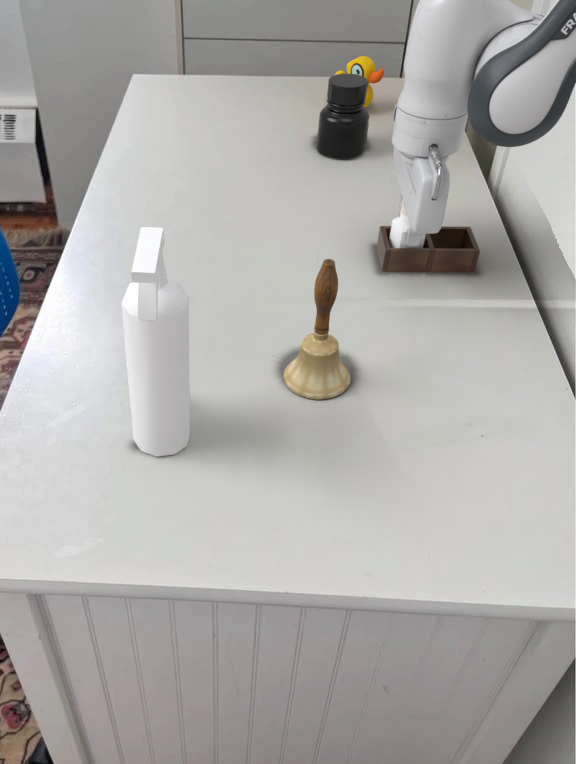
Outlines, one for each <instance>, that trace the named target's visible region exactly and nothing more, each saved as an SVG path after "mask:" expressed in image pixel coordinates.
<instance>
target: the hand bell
mask: <svg viewBox="0 0 576 764" xmlns="http://www.w3.org/2000/svg"><path fill="white" fill-rule="evenodd" d="M338 291H339V278H338V273H337V269H336V262H335V260H334V259H332V258H326V259H323V261H322V264H321V266H320V268H319V271H318V273H317V275H316V277H315V281H314V289H313V295H314V302H315V303H314V304H315V308H316V315H315V323H314V326H313V327H314V329H313V330H314V331H313V332H312V333H309V334H307V335H306V336H304V338H303V339H302V340H301V343H300V348H299V351H298V354H297V356H296V358H295V359H293V360H292V361H291V362H289V363H288V364H287V366H286V367H285V369H284V371H283V375H282V378H283V382H284V385H285V386H286V387H287V388H288V389H289V390H290V391H291V392H293V394H295V395H298V396H300V397H302V398H306V399H310V400H327V399H332V398H335V397H337V396H340V395H342V394H343V393H344V392H346V391H347V389H348V388H349V387H350V384H351V372H350V371H349V369H348V367H347V366H346V365H345V364H344V363H343V362H341V358H340V345H339V344H340V343H339V341H338V339H337V338H336V337H335V336H333V335H332V334H330V333H329V331H330V317H331V312H332V309H333V306H334V304H335V302H336V300H337V296H338Z"/></svg>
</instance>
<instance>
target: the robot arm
mask: <svg viewBox="0 0 576 764" xmlns="http://www.w3.org/2000/svg"><path fill="white" fill-rule="evenodd" d="M403 72H404V73H403V75H404V81H403V85H402V89H401V92H400V94H399V96H398V99H397V103H395V105H394V110H393V128H392V133H391V134H392V135H391V144H392V146H393V157H392V158H393V160H392V161H393V170H394V174H395V177H396V180H397V183H398V187H399V191H400V192H399V196H400V197H399V209H398V217H400V214H401V213H400V210H401V205H402V200H403V201H404V205H405V208H406V211H407V215H408V218H409V222H410V227H409V229H407V233H406V242H407V245H408V246H418V245H419V244H420V241H421V237H422V234H434V233H438V232H439V231H440V229H441V227H442V226H443V224H444V220H445V219H444V218H445V214H446V209H447V203H448V199H449V198H448V197H449V193H450V183H451V175H450V171H449V169H448V165H447V164H446V162H447V161H448V160H449V156H451V155H454V154H456V153H457V152H459V151H460V149H461V147H462V143H463V139H464V134H465V131H466V126H467V122H468V120H469V123H470V125H471V127H472V128H473V130H474V132H475V133H476V134H477V135H478V136H479V137H480V138H481V139H482V140H483V141H485V142H487V143H489V144H491V145H494V146H497V147H502V148H517V147H523V146H526V145H529V144H531V143H533V142H536V141H537V140H540V139H542V138H543V137H544V136H545V135H546V134H548V133H549V132H550V131H551V130H552V129H553V128H554V127H555V126H556V125H557V124H558V122H559V121H560V119H561V118H562V116H563V114H564V112H565V111H566V108H567V106H568V104H569V101H570V99H571V96H572V93H573V90H574V88H575V87H576V0H556V1H555V2H554V4H553V5H552V6H551V7H550V8H549V10H548V11H547V13H546V14H545V15H542V14H538V13H535V12H532V11H530V10H528V9H525V8H522V7H521V6H519V5H517V4H516V3H514V2H512V1H511V0H419V1H418V3H417V6H416V9H415V12H414V15H413V18H412V22H411V26H410V30H409V34H408V39H407V44H406V49H405V55H404V61H403Z"/></svg>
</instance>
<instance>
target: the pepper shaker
mask: <svg viewBox="0 0 576 764" xmlns="http://www.w3.org/2000/svg"><path fill="white" fill-rule="evenodd" d="M400 213H401V214H400V217H399V216H397V217H394V218H393V219H392V221H391V225H390V226H391V232H390V237H389V246H390V248H423V245H424V241H425V236H426V234H422V237H421V241H420V244H419V245H418V246H408V245H407V242H406V233H407V229H409V227H410V222H409V218H408V215H407V211H406V208H405V205H404V201H403V200H402V205H401V210H400Z"/></svg>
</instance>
